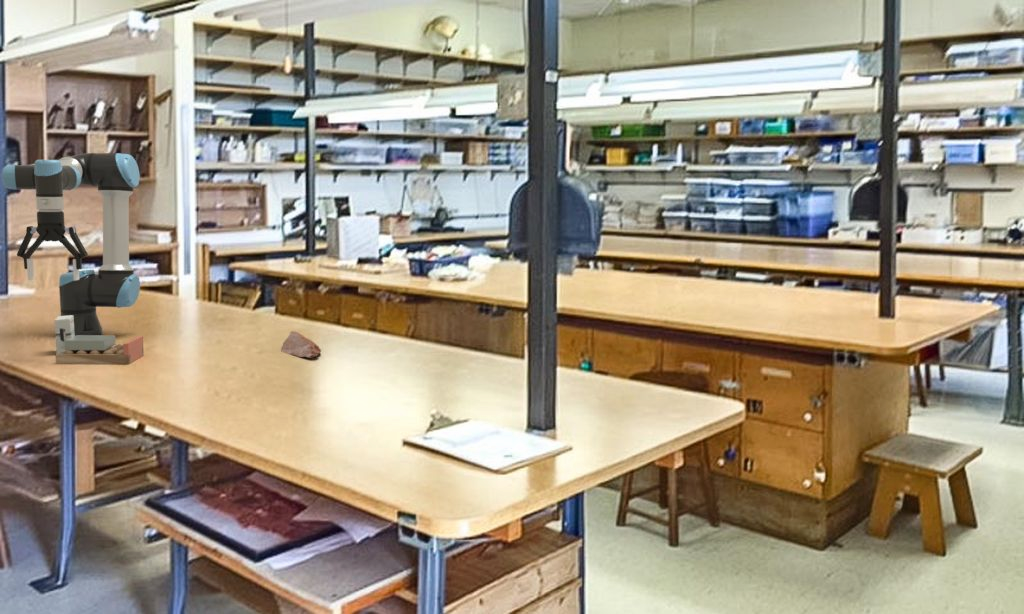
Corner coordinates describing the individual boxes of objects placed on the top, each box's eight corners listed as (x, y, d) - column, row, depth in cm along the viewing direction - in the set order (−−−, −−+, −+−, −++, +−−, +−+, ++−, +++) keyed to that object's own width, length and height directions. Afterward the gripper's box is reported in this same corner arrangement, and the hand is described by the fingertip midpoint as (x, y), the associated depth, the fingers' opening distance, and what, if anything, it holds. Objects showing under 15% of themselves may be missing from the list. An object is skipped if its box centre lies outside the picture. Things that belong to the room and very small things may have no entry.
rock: (300, 358, 315) (321, 334, 318) (274, 347, 335) (294, 325, 338) (322, 378, 319) (342, 354, 322) (295, 366, 339) (314, 344, 342)
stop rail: (138, 355, 320) (137, 335, 320) (143, 355, 321) (143, 336, 320) (123, 364, 306) (123, 343, 306) (129, 364, 307) (128, 343, 306)
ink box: (59, 350, 326) (57, 315, 325) (75, 350, 328) (74, 314, 326) (55, 355, 318) (54, 319, 317) (72, 355, 320) (71, 318, 318)
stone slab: (77, 344, 317) (76, 335, 317) (115, 344, 318) (115, 335, 317) (64, 350, 307) (64, 340, 307) (104, 350, 308) (104, 340, 307)
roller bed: (73, 355, 319) (73, 343, 319) (143, 355, 321) (143, 343, 320) (56, 363, 305) (55, 351, 305) (129, 364, 307) (128, 351, 306)
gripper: (2, 210, 299) (6, 281, 302) (88, 211, 301) (91, 281, 304) (13, 209, 306) (17, 278, 310) (96, 210, 308) (99, 278, 311)
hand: (53, 279), depth 307 cm, fingers open, 13 cm apart
